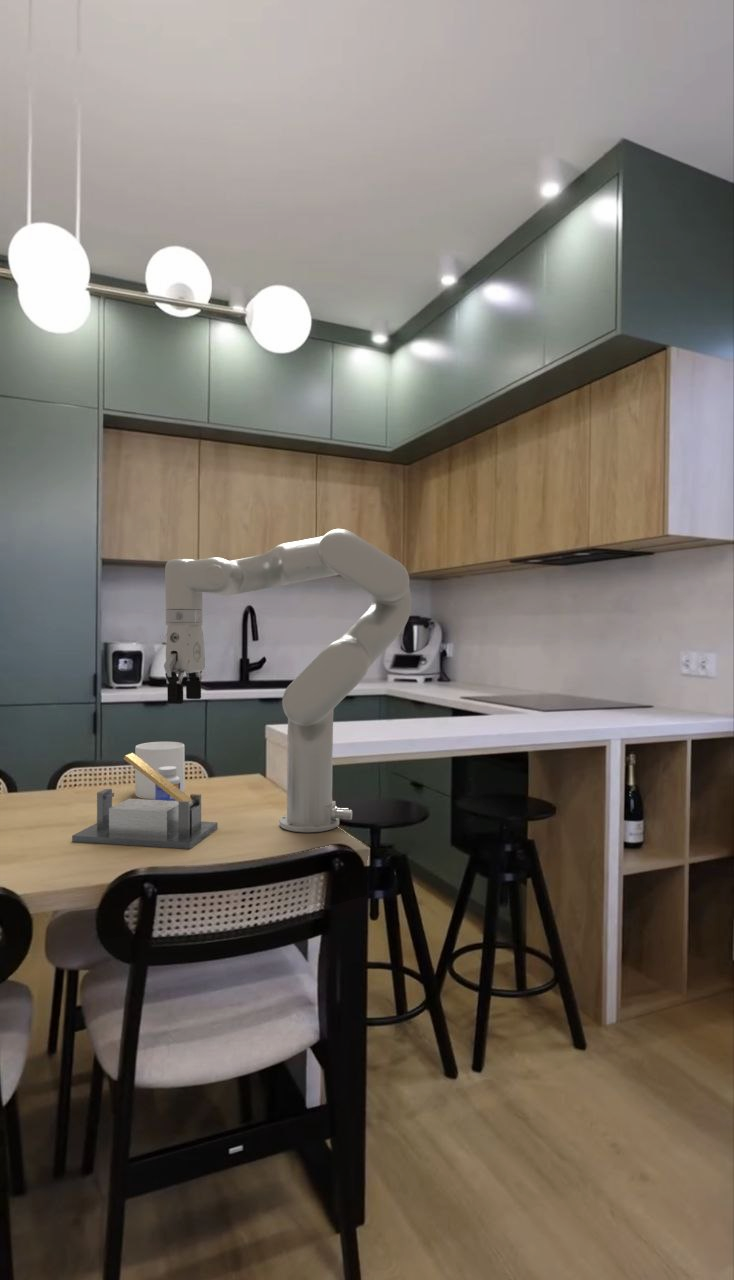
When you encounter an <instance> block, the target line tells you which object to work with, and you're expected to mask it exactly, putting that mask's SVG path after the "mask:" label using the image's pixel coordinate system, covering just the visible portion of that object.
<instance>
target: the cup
mask: <svg viewBox="0 0 734 1280" xmlns="http://www.w3.org/2000/svg"><path fill="white" fill-rule="evenodd" d="M185 747H186V746H185V744H184V743H183V742H178V741H151V742H144V743H140V744H137V745H135V748H134V750H135V752H134V754H135V755H136V756H138V757H139V758H140V759H141V760H143V761H144V762H145V763H146V764H148V765H149V766H150V767H152V768H153V769H154V770H155V771H157V772H158V770H159V768H160V767H165V766H174V767H177V774H176V776H178V777H179V778H180V790H181V791H182V792H183V793H185V774H186V773H185V765H186V763H185V752H186V751H185ZM134 769H135V771H134V775H135V777H134V781H135V782H134V784H135V785H134V790H135V797H136V798H138V799H147V800H155V783H154V782H152V781H151V780H150V779H148V778H147V777H146V776H145V775H143V774H142V773H141V772H140V771H138V770H137V769H136V768H135V767H134Z"/></svg>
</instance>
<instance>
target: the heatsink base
mask: <svg viewBox="0 0 734 1280" xmlns="http://www.w3.org/2000/svg"><path fill="white" fill-rule="evenodd" d="M114 797H115V792H113V789H112V788H105V789H103V790H100V791H97V792H96V823H94V824H92V825H90V826H88V827H86V828H84V829H82V830H80V831H78V832H76V833H75V834H72V835H71V842H72V843H85V844H86V843H87V844H89V843H90V844H100V845H101V844H103V845H117V846H118V845H121V846H135V847H148V848H150V847H152V848H168V849H169V848H170V849H181V850H182V849H184V850H192V849H193V847H195V846H196V845H198V844H199V843H200V842H201V841H203V840H204V839H205V838H207V837H208V836H209V835H211V834H212V833H213V832H215V831H216V830H217V829H218V827H219V826H218V824H219V823H218V822H216V821H215V822H213V821H202V794H197V793H191V794H190V796H189V797H190V798H191V799H192V800H196V804H195V805H193V806H191V807H190V801H179V802H178V801H166V800H155V799H143V798H128V799H125V800H123V801H121V802H119V803H117V804H115V805H113V798H114ZM215 829H216V830H215ZM210 833H211V834H210ZM206 836H207V837H206Z"/></svg>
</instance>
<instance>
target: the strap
mask: <svg viewBox="0 0 734 1280" xmlns="http://www.w3.org/2000/svg"><path fill="white" fill-rule="evenodd" d="M123 760H124V761H126V762H127V763H128V764H129V765H131V766H132V767H133V768H134V769H135V768H136V769H137V770H138V771H140V772H141V773H142V774H143V775H145V776H146V777H147V778H148V779H150V780H151V781H152V782H154V783H155V784H156V785H157V786H159V787H160V788H161V789H162V790H164V791H165V792H166V793H167V794H169V795H170V796H171V797H173V798H174V799H175V800H176V801H178V802H179V801H190V807H191V806H193V805H195V804H196V800H192V799H191V798H190V796H189V795H187V794H186V793H185V792H184V793H183V792H182V791H181V790H180V789H178V788H177V787H176V786H174V785H173V784H172V783H171V782H169V781H168V780H167V779H166V778H164V777H163V776H162V775H160V774H159V773H158V772H157V771H155V770H154V769H153V768H152V767H150V766H149V765H148V764H146V763H145V762H144V761H143V760H141V759H140V758H139V757H138V756H136V755H135V752H131V753H128V754H126V755H124V756H123Z"/></svg>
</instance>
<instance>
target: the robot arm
mask: <svg viewBox="0 0 734 1280" xmlns="http://www.w3.org/2000/svg"><path fill="white" fill-rule="evenodd" d="M164 570H165V571H164V573H165V574H164V576H165V577H164V578H165V580H164V581H165V582H164V583H165V586H164V588H165V626H167V629H166V630H167V631H166V640H165V662H164V664H163V667H164V671H165V675H164V676H165V677H166V685H167V693H166V694H167V704H171V705H172V704H174V705H176V704H177V705H181V704H184V683H182V682H183V679H184V675H186V677H187V679H186V680H185V697H186V699H187V700H200V699H202V679H203V678H202V677H203V676H202V672H203V671H204V670H205V667H206V659H205V641H204V631H203V622H204V621H203V593H209V594H215V595H221V596H234V595H241V594H244V593H250V592H255V591H260V590H261V591H262V590H264V589H269V588H275V587H283V586H287V585H292V584H298V583H301V582H306V581H307V582H308V581H311V580H317V579H323V578H330V577H334V576H339V575H340V577H342V578H343V579H345V580H347V581H348V582H350V583H351V584H353V585H355V586H356V587H358V588H360V589H361V590H363V591H365V592H366V593H368V594H369V595H371V597H372V600H371V603H370V606H369V607H368V609H367V610H366V611H365V612H364V613H363V614H362V615H361V616H360V617H359V618H358V619H357V621H356V622H355V623H354V624H352V626H351V627H350V628H349V629H348V630H347V631H346V632H345V633H343V635H342V636H340V637H339V638H338V639H337V640H334V641H332V642H331V643H329V644H328V645H327V646H326V647H325V648H324V649H323V650H322V651H321V652H320V653H319V654H318V655H317V656H316V657H315V658H314V659H313V661H311V663H309V664H308V666H306V667H305V669H303V670H302V672H301V673H299V675H298V676H297V677H296V678H294V679H293V680H292V682H291V683H289V685H287V687H286V689H285V690H284V693H283V695H282V702H281V703H282V704H281V705H282V710H283V712H284V714H285V716H286V718H287V735H286V736H287V741H286V742H287V744H286V745H287V746H286V747H287V751H286V814H284V815H283V816H281V817H280V818H279V821H278V822H279V826H280V827H281V828H282V829H284V830H287V831H290V832H296V833H321V832H325V831H330V830H334V829H335V828H337V827H339V825H340V819H342V820H352V819H353V810H352V809H349V807H338V806H337V804H336V803H337V802H336V800H333V749H334V747H333V743H334V739H333V738H334V712H335V711H334V710H335V708H336V707H337V706H338V705H339V704H340V703H341V701H343V700H344V699H345V698H346V697H347V696H348V695H349V694H350V693H351V692H352V691H353V690H354V689H355V688H357V686H358V684H360V683H361V681H362V680H363V679H364V677H365V676H366V674H367V673H368V670H369V668H370V667H371V666H372V665H373V664H374V662H375V661H377V659H378V658H379V657H380V656H382V654H384V653H385V651H386V650H387V649H388V647H390V646H391V644H392V643H393V642H394V641H395V640H396V639H397V638H398V637H399V636H400V634H401V633H402V631H404V629H405V627H406V625H407V623H408V621H409V618H410V614H411V610H412V594H411V588H410V576H409V573H408V570H407V568H406V567H405V566H404V564H402V563H401V562H400V561H398V560H397V559H395V558H393V557H392V556H390V555H389V554H387V553H386V552H384V551H382V550H381V549H379V548H377V547H376V546H374V545H372V544H371V543H370V542H368V541H366V540H364V539H363V538H362V537H360V536H358V535H357V534H355V533H354V532H352V531H350V530H347V529H344V528H336V529H332V530H330V531H328V532H327V533H325V534H324V535H322V536H317V537H312V538H307V539H302V540H296V541H290V542H284V543H280V544H278V545H277V546H275V547H273V548H272V549H270V550H268V551H267V552H264V553H261V554H258V555H254V556H250V557H249V556H248V557H245V558H244V557H243V558H239V559H232V560H228V559H225V558H223V557H209V558H202V559H189V558H174V559H169V560H168V561H167V562H166V563H165V569H164Z"/></svg>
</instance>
